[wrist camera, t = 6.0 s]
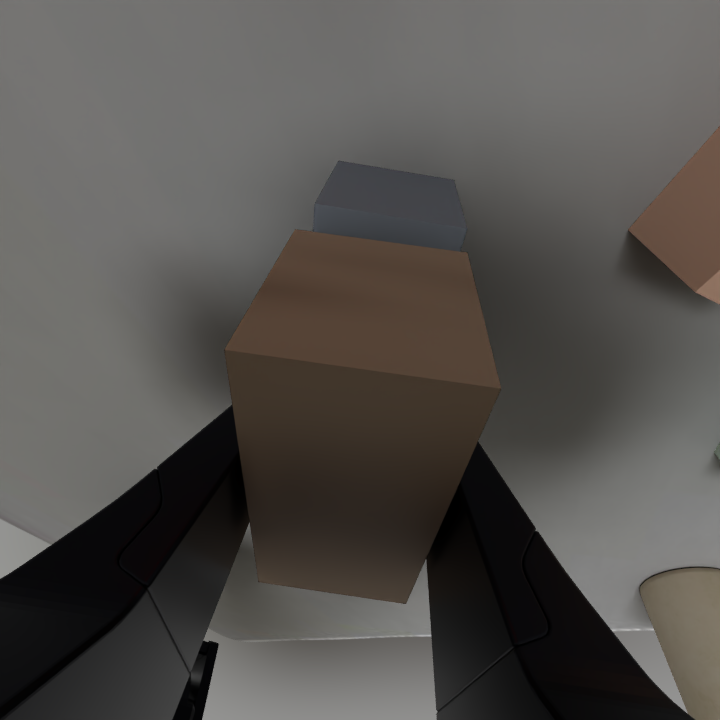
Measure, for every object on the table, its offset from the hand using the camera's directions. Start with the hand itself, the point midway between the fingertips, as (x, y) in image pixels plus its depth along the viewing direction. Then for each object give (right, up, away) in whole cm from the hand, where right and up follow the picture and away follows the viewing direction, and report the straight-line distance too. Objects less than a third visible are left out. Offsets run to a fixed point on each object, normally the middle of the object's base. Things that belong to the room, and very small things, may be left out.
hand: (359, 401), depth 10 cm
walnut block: (0, +1, +1) cm, 1 cm away
